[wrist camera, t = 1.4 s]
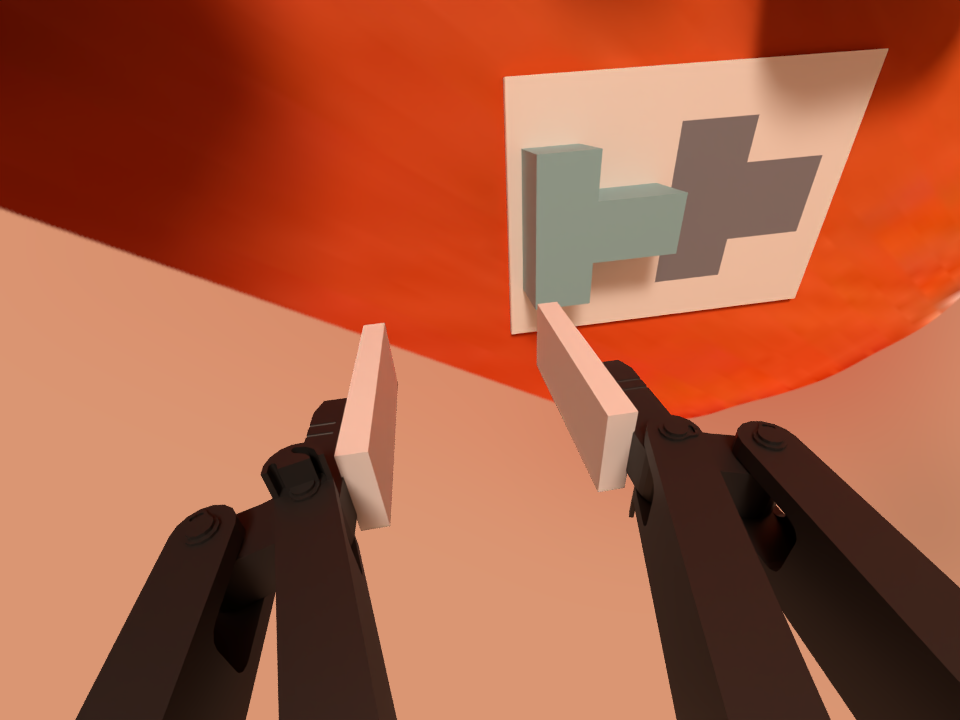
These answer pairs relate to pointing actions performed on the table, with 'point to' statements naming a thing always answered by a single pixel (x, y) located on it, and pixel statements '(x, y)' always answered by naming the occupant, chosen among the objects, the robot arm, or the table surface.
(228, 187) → the table surface
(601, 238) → the t block
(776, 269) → the mat
